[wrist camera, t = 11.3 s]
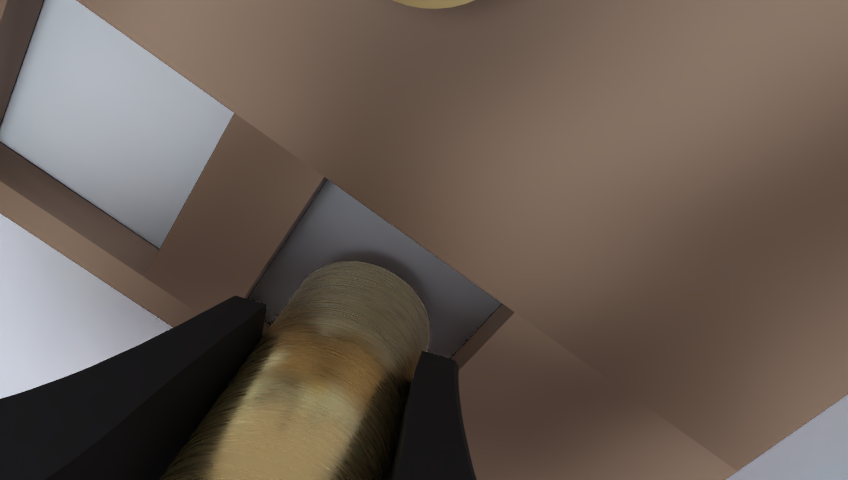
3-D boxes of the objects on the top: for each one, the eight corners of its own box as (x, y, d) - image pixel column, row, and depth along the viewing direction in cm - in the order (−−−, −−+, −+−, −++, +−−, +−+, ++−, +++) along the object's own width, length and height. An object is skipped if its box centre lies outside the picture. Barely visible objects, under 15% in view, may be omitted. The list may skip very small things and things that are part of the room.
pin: (460, 337, 13) (395, 608, 8) (362, 405, 15) (249, 678, 9) (357, 233, 13) (214, 452, 7) (264, 313, 14) (84, 549, 9)
